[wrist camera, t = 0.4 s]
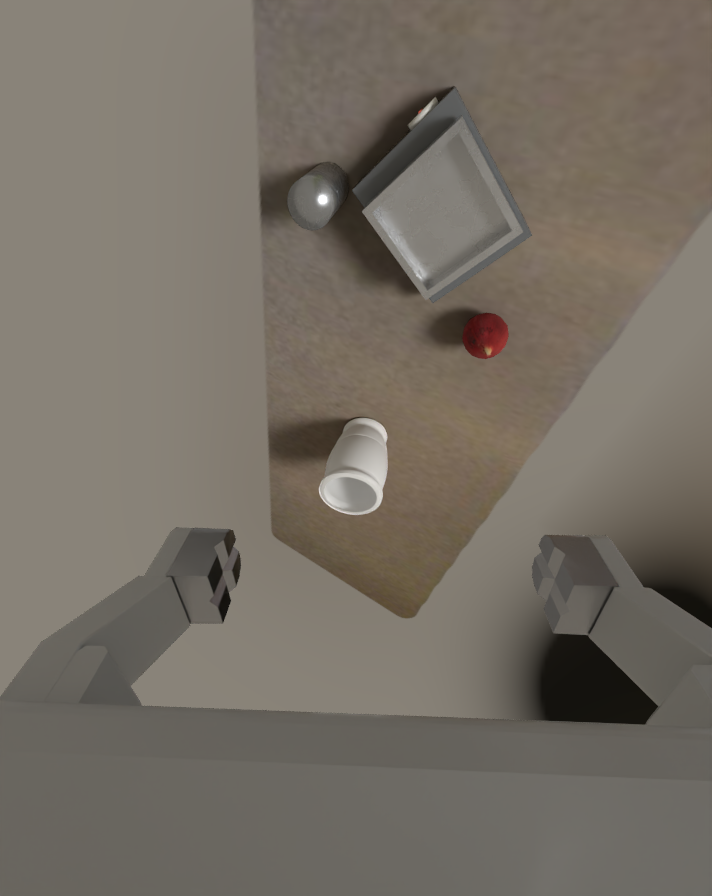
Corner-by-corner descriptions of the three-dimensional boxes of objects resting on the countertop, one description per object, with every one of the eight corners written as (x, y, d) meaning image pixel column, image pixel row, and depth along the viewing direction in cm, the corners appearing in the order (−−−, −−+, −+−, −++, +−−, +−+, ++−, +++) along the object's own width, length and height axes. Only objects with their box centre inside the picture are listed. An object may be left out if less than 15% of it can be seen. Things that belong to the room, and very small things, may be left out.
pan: (461, 114, 38) (461, 117, 36) (520, 224, 43) (523, 232, 41) (365, 204, 44) (361, 211, 42) (426, 290, 50) (425, 300, 48)
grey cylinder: (329, 151, 45) (309, 165, 39) (356, 189, 48) (341, 209, 41) (301, 182, 48) (278, 201, 42) (328, 217, 50) (310, 240, 44)
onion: (454, 331, 58) (454, 360, 52) (477, 296, 54) (480, 323, 48) (489, 348, 58) (492, 378, 53) (514, 314, 54) (521, 343, 49)
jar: (370, 461, 79) (357, 523, 69) (327, 434, 76) (307, 494, 66) (404, 433, 73) (395, 496, 62) (359, 402, 70) (342, 463, 59)
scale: (450, 78, 40) (450, 79, 37) (527, 225, 47) (532, 235, 44) (354, 177, 47) (347, 184, 44) (433, 290, 54) (432, 303, 51)
